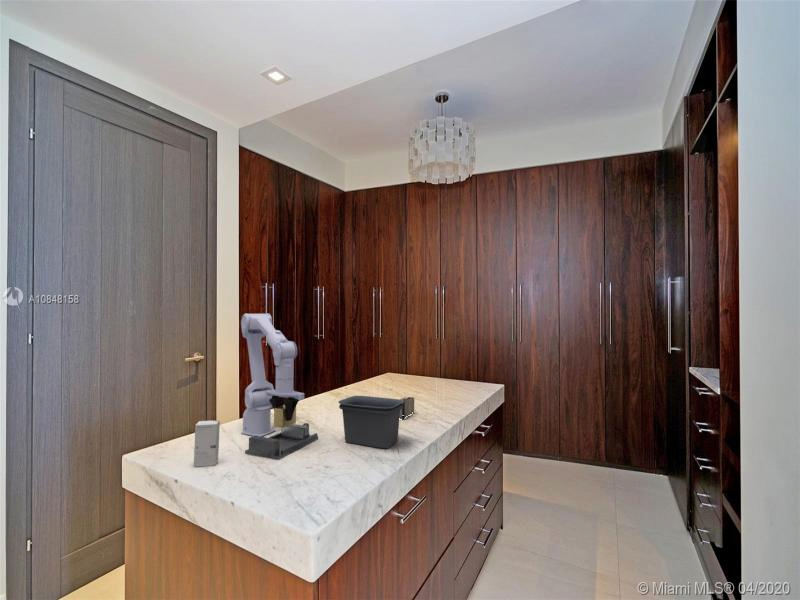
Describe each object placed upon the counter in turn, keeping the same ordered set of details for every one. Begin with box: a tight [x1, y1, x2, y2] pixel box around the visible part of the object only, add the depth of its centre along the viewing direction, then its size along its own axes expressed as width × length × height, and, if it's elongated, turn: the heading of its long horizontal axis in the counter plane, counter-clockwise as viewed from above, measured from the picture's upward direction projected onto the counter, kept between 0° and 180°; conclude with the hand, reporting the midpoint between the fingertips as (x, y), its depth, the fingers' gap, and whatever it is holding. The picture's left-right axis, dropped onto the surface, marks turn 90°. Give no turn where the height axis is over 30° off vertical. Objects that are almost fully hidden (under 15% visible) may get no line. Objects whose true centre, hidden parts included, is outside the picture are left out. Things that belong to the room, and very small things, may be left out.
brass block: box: [273, 404, 297, 429], centre depth 134 cm, size 4×7×6 cm, turn 158°
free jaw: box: [280, 422, 310, 440], centre depth 142 cm, size 10×8×4 cm
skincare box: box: [193, 419, 221, 467], centre depth 119 cm, size 6×4×12 cm
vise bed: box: [244, 431, 319, 461], centre depth 134 cm, size 13×21×5 cm, turn 157°
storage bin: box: [337, 395, 404, 449], centre depth 139 cm, size 21×16×14 cm
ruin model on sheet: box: [399, 396, 415, 420], centre depth 171 cm, size 11×3×10 cm, turn 152°
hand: (284, 419), depth 134 cm, fingers closed on brass block, 3 cm apart
